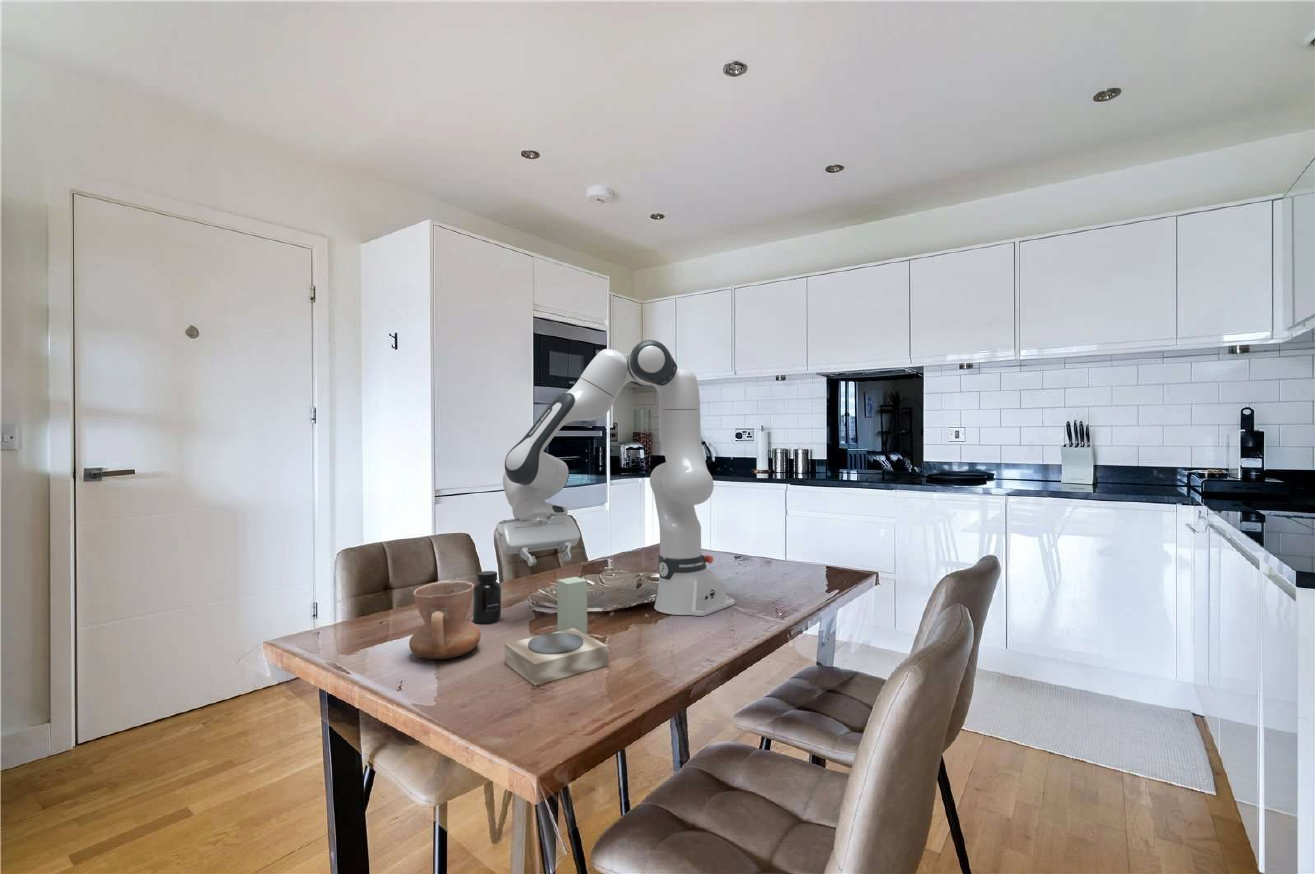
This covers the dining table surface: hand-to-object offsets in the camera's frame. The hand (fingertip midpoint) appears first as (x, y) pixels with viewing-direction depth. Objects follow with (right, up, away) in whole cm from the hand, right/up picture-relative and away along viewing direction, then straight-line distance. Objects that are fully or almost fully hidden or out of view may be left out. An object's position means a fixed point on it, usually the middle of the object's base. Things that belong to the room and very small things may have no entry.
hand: (550, 561), depth 149 cm
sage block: (+6, -16, -8) cm, 19 cm away
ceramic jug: (-19, -16, -19) cm, 31 cm away
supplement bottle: (-17, -16, +4) cm, 23 cm away
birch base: (+6, -16, -25) cm, 30 cm away
